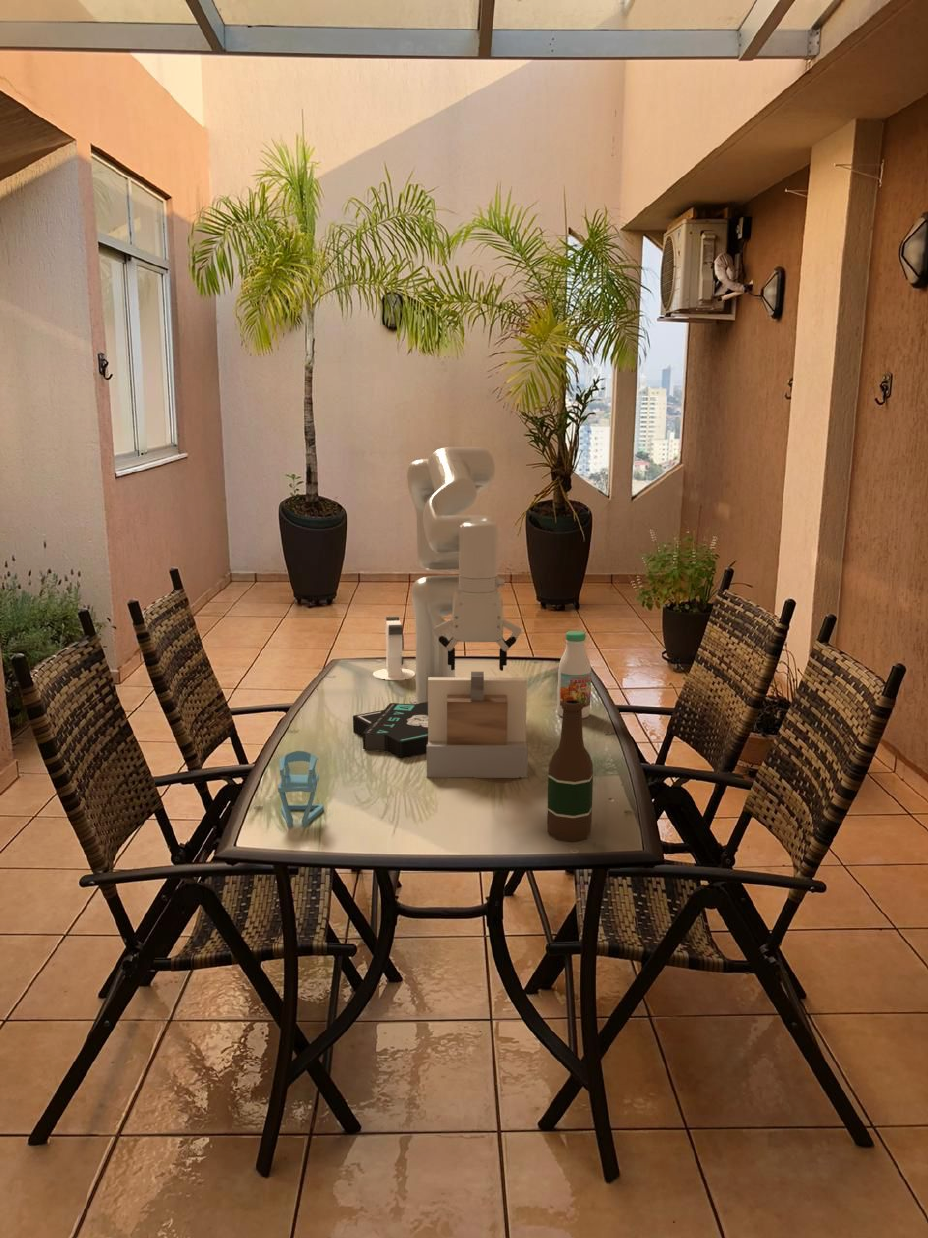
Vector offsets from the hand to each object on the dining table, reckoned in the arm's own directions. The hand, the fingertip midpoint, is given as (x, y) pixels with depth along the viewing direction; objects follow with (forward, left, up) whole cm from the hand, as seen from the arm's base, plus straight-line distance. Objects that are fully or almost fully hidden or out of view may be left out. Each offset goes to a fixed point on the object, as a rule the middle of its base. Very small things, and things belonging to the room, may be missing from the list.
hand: (477, 668), depth 212 cm
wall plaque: (-20, -13, -22) cm, 33 cm away
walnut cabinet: (0, 0, -16) cm, 16 cm away
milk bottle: (-36, +23, -21) cm, 48 cm away
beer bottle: (+32, +16, -21) cm, 41 cm away
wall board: (0, 0, -21) cm, 21 cm away
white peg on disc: (-70, -22, -21) cm, 77 cm away
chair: (+26, -32, -21) cm, 46 cm away
